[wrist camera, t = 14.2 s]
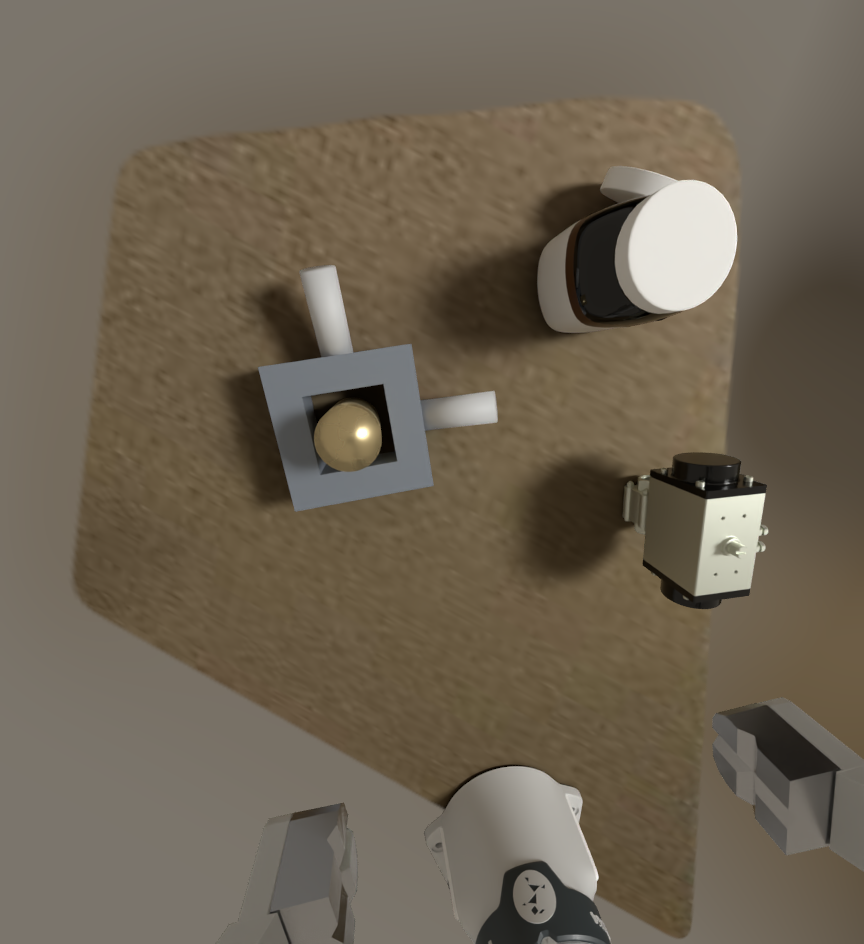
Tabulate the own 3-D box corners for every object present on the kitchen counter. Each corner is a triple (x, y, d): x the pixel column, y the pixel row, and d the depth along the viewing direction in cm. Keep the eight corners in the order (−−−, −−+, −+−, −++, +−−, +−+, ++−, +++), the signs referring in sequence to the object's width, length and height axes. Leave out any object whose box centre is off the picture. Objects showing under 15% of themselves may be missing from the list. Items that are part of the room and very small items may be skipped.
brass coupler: (384, 444, 36) (387, 465, 28) (333, 452, 35) (322, 477, 28) (375, 393, 34) (375, 401, 27) (322, 401, 34) (307, 412, 26)
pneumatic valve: (612, 556, 42) (702, 629, 30) (619, 442, 39) (722, 475, 27) (662, 549, 42) (770, 619, 31) (673, 437, 39) (797, 468, 28)
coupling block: (492, 461, 37) (512, 477, 32) (303, 495, 36) (290, 519, 30) (469, 256, 33) (487, 235, 27) (251, 286, 31) (225, 269, 26)
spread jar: (531, 342, 35) (603, 332, 24) (516, 193, 32) (592, 102, 21) (661, 320, 36) (789, 299, 25) (659, 173, 33) (803, 76, 22)
